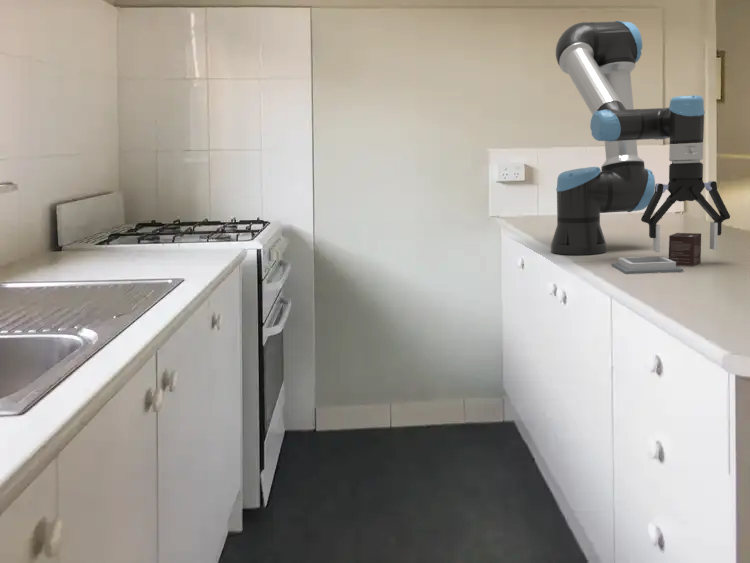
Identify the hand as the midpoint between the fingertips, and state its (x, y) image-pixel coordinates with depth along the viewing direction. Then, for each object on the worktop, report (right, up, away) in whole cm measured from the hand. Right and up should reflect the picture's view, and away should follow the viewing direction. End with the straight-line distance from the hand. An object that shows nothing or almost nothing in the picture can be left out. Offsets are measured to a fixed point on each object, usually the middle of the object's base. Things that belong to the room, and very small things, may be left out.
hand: (684, 250), depth 186 cm
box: (0, -4, +1) cm, 4 cm away
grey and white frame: (-11, -4, -3) cm, 12 cm away
